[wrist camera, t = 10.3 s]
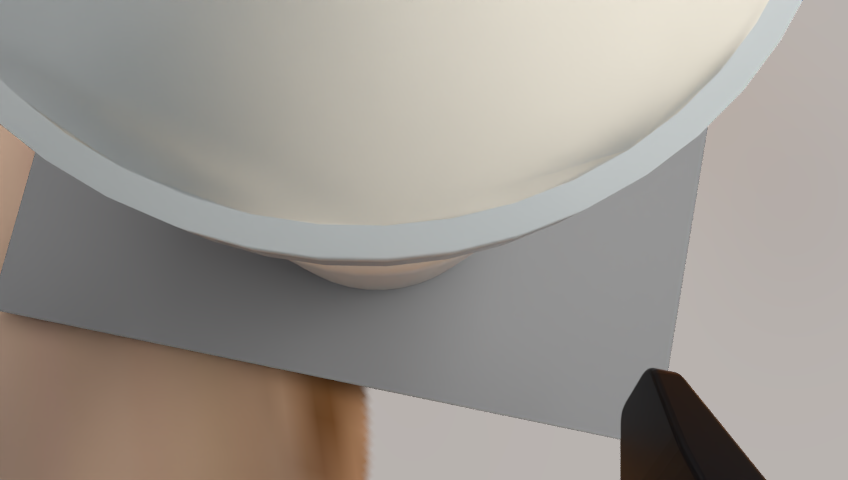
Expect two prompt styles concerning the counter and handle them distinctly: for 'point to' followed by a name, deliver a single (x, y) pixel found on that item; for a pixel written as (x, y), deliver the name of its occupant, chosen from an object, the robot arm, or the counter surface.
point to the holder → (383, 299)
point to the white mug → (372, 113)
